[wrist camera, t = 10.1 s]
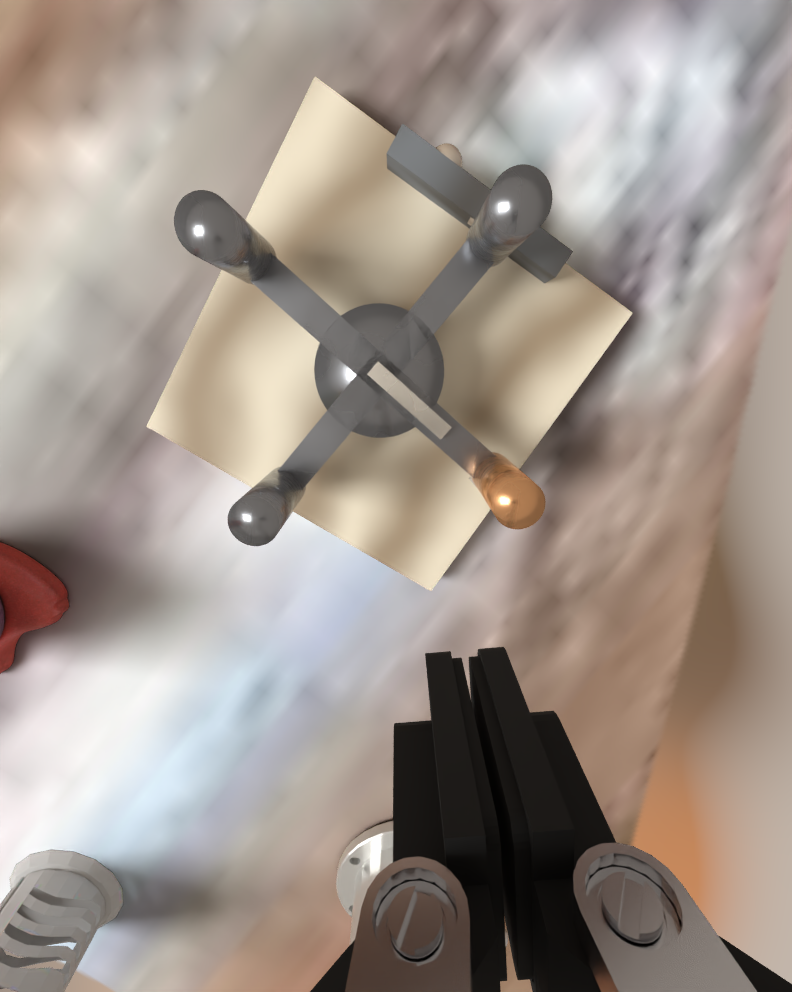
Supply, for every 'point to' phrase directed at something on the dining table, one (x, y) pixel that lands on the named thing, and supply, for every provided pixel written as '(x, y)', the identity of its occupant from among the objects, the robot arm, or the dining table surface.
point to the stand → (397, 281)
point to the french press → (53, 917)
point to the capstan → (375, 351)
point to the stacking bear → (25, 599)
